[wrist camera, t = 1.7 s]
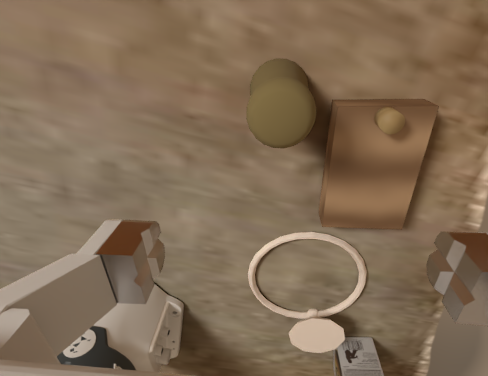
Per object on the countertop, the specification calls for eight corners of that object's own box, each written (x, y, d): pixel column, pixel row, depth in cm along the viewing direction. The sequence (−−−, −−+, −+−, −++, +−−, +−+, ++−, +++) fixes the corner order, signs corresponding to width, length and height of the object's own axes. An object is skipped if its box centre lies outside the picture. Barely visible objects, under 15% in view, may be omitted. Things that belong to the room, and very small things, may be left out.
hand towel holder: (372, 242, 33) (378, 349, 42) (361, 220, 37) (369, 322, 46) (231, 261, 36) (266, 356, 46) (235, 239, 40) (266, 331, 49)
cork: (320, 77, 29) (344, 103, 19) (288, 129, 32) (294, 173, 22) (268, 46, 28) (265, 56, 18) (239, 102, 31) (224, 135, 21)
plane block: (392, 214, 36) (409, 240, 31) (318, 212, 36) (324, 237, 32) (424, 99, 29) (450, 111, 24) (332, 99, 30) (342, 112, 25)
